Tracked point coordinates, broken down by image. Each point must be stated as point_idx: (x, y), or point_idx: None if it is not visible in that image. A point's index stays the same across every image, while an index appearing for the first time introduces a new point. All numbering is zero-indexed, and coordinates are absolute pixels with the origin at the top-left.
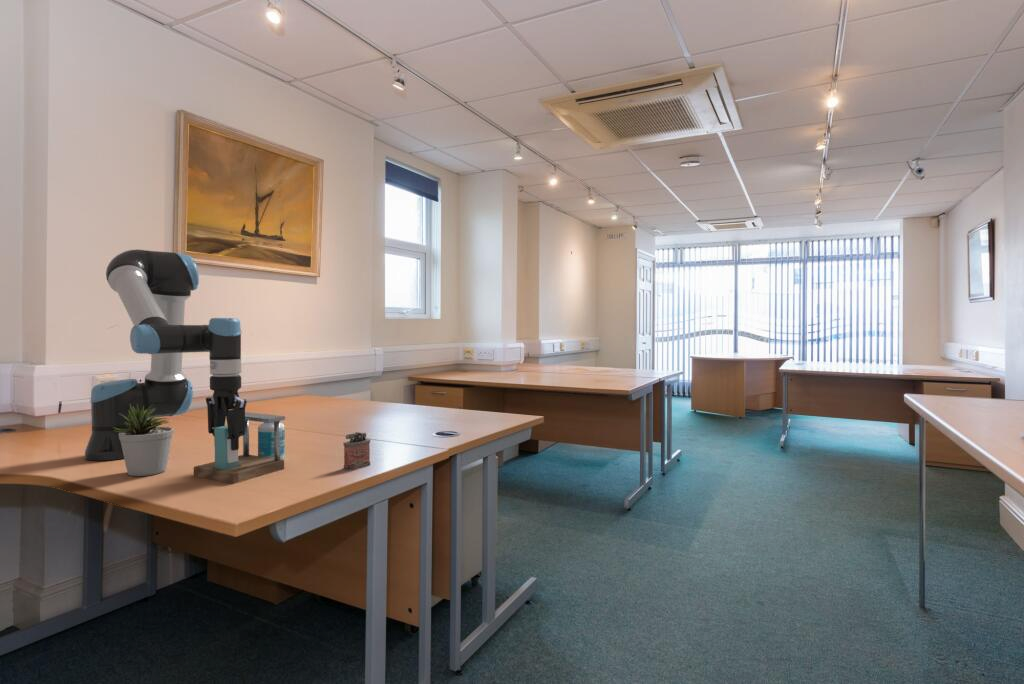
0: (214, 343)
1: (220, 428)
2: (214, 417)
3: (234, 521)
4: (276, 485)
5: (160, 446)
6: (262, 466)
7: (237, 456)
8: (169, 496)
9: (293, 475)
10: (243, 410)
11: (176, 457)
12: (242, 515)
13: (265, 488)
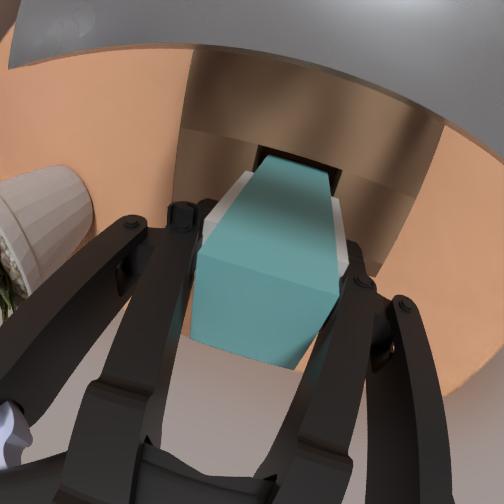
0: None
1: (252, 358)
2: (87, 323)
3: (441, 394)
4: (482, 259)
5: (50, 250)
6: (427, 171)
7: (338, 209)
8: None
9: (500, 162)
10: (439, 480)
11: (21, 80)
12: (447, 382)
13: (464, 283)
